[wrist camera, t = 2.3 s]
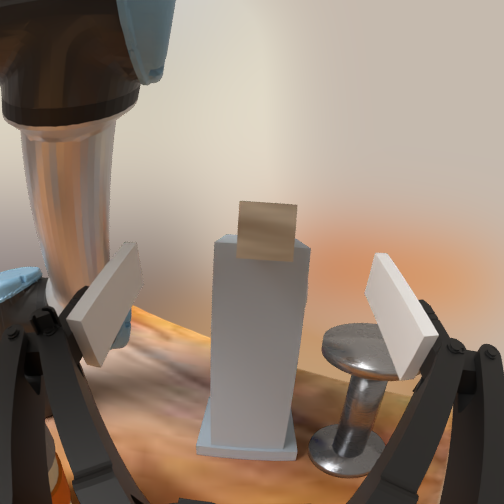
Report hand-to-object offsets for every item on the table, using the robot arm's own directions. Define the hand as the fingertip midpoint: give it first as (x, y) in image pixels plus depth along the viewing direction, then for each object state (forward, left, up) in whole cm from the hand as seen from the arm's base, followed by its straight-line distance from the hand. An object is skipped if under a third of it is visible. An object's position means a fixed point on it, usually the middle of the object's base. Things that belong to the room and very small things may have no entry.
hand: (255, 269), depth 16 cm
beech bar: (-13, +14, 0) cm, 19 cm away
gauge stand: (-14, +15, -30) cm, 37 cm away
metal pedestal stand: (0, +22, -30) cm, 38 cm away
